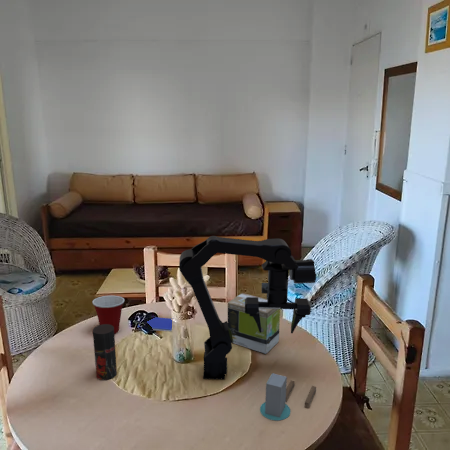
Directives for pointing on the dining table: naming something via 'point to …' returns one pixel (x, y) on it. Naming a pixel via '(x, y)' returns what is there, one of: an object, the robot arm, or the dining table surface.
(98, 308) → the plastic cup
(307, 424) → the dining table surface
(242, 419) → the dining table surface
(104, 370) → the deodorant
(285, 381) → the grey block
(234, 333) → the tea box
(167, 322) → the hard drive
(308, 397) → the pair of brown bars
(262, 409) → the pad
